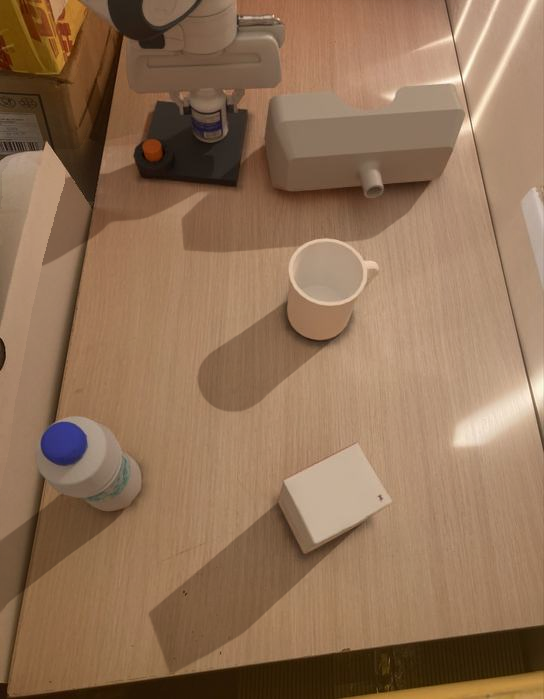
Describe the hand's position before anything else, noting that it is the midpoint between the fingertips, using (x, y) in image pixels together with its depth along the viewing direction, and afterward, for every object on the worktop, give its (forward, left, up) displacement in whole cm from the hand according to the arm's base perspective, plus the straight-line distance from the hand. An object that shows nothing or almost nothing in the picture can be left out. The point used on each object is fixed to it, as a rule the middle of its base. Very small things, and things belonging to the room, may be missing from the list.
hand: (208, 110), depth 77 cm
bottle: (-3, -52, -5) cm, 53 cm away
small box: (+20, -53, -5) cm, 57 cm away
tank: (+22, -5, -5) cm, 23 cm away
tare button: (-7, -7, -2) cm, 10 cm away
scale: (-2, -2, -5) cm, 6 cm away
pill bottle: (0, 0, -4) cm, 4 cm away
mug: (+19, -28, -5) cm, 34 cm away
